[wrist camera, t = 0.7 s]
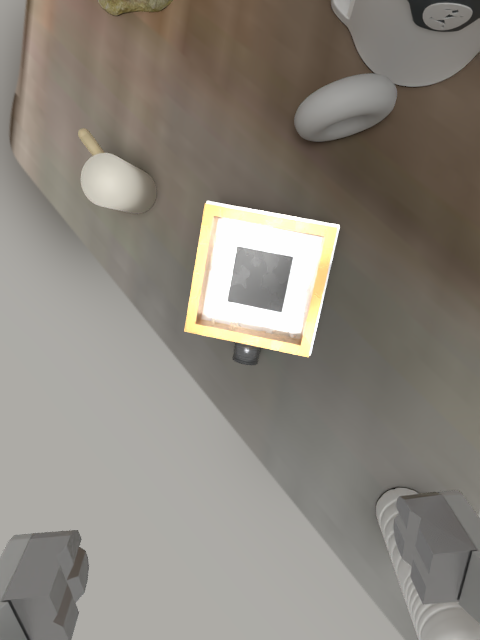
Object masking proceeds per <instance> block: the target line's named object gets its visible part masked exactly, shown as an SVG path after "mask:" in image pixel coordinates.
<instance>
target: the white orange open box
mask: <svg viewBox="0 0 480 640" xmlns="http://www.w3.org/2000/svg"><path fill="white" fill-rule="evenodd" d="M339 228H340V225H337V224H332V223H326V222H321V221H315V220H310V219H304V218H299V217H293V216H288V215H282V214H277V213H271V212H266V211H261V210H255V209H250V208H244V207H239V206H233V205H228V204H222V203H217V202H211V201H207V202H206V203H205V207H204V213H203V219H202V225H201V231H200V238H199V244H198V250H197V256H196V262H195V268H194V275H193V281H192V287H191V293H190V299H189V305H188V312H187V318H186V324H185V330H184V331H185V332H190V333H195V334H199V335H204V336H209V337H214V338H219V339H223V340H228V341H233V342H236V343H235V349H234V354H233V360H234V361H236V362H238V363H241V364H246V365H256V364H257V363H258V358H259V354H260V349H261V347H262V348H267V349H272V350H276V351H281V352H286V353H291V354H296V355H301V356H305V357H309V355H311V351H312V347H313V343H314V338H315V334H316V329H317V325H318V321H319V316H320V312H321V307H322V303H323V299H324V294H325V290H326V285H327V281H328V276H329V272H330V268H331V263H332V259H333V254H334V250H335V246H336V241H337V237H338V232H339Z"/></svg>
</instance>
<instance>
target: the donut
mask: <svg viewBox="0 0 480 640" xmlns="http://www.w3.org/2000/svg"><path fill="white" fill-rule="evenodd" d="M396 98H397V89H396V86H395V84H394V83H393V82H392V81H391V80H390V79H389V78H388V77H386V76H384V75H380V74H375V73H370V74H359V75H354V76H350V77H346V78H343V79H340V80H337V81H335V82H332V83H330V84H328V85H326V86H324V87H322V88H320V89H318V90H317V91H315V92H314V93H312V94H311V95H309V96H308V97H307V98H306V99H305V100H304V101H303V102H302V103H301V104H300V106H299V107H298V109H297V112H296V114H295V118H294V124H295V127H296V130H297V132H298V133H299V135H300V136H301V137H302V138H304V139H306V140H309V141H314V142H323V141H330V140H335V139H339V138H343V137H346V136H350V135H353V134H355V133H358V132H361V131H363V130H365V129H367V128H370V127H372V126H374V125H375V124H377V123H379V122H380V121H382V120H383V119H384V118H385V117H386V116H387V115H388V114H389V113H390V112H391V111H392V109H393V108H394V105H395V102H396Z"/></svg>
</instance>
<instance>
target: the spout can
mask: <svg viewBox="0 0 480 640" xmlns="http://www.w3.org/2000/svg"><path fill="white" fill-rule="evenodd" d="M78 136H79V138H80V139H81V141H82V142H83V143H84V145H85V146H86V147H87V149H88V150H89V151H90V153H91V154H92V155H93V156H92V157H91V158H90V159H89V160H88V161H87V162H86V163H85V165H84V166H83V169H82V172H81V185H82V189H83V191H84V193H85V195H86V196H87V198H88V199H89V200H90V201H91V202H93V203H94V204H96V205H99V206H102V207H106V208H111V209H115V210H119V211H124V212H128V213H133V214H141V213H144V212H146V211H148V210H149V209H150V208H151V207H152V206H153V204H154V202H155V200H156V196H157V189H156V185H155V182H154V180H153V179H152V177H151V176H150V175H149V174H148V173H146V172H144V171H143V170H141V169H139V168H137V167H135V166H134V165H132V164H130V163H128V162H126V161H124V160H123V159H121V158H119V157H117V156H115V155H113V154H110V153H105V152H104V151H103V150H102V148H101V147H100V146H99V144H98V143H97V142H96V140H95V139H94V137H93V136H92V135H91V133H90V132H89V131H88V130H87V129H85V128H82V129H80V130H79V132H78Z"/></svg>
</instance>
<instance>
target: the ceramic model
mask: <svg viewBox="0 0 480 640" xmlns="http://www.w3.org/2000/svg"><path fill="white" fill-rule="evenodd" d="M172 1H173V0H98V2H99V4H100V5H101V6H102V8H103V9H105V10H106V11H107V12H108V13H110V14H112V15H116V16H117V15H119V14H122V13H126V12H136V11H137V12H138V11H144V12H158V11H161V10H162V9H164V8H165V7H166V6H168V5H169V4H170V3H171V2H172Z"/></svg>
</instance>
